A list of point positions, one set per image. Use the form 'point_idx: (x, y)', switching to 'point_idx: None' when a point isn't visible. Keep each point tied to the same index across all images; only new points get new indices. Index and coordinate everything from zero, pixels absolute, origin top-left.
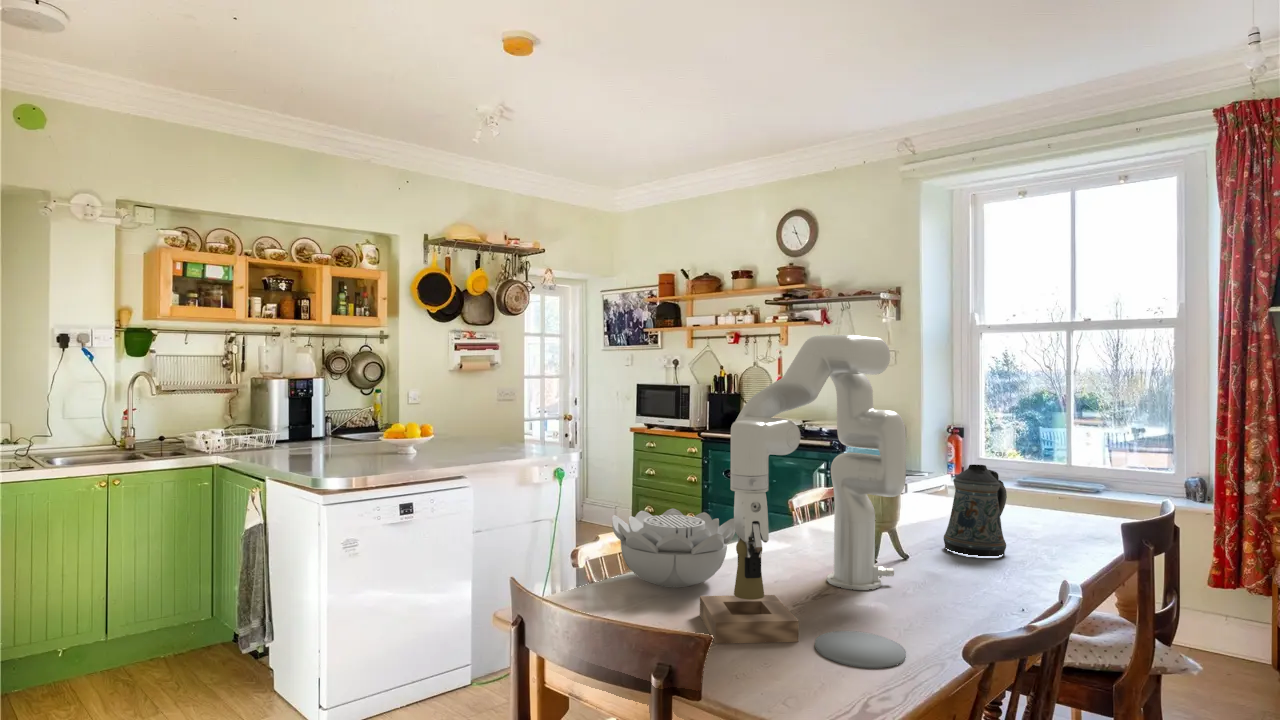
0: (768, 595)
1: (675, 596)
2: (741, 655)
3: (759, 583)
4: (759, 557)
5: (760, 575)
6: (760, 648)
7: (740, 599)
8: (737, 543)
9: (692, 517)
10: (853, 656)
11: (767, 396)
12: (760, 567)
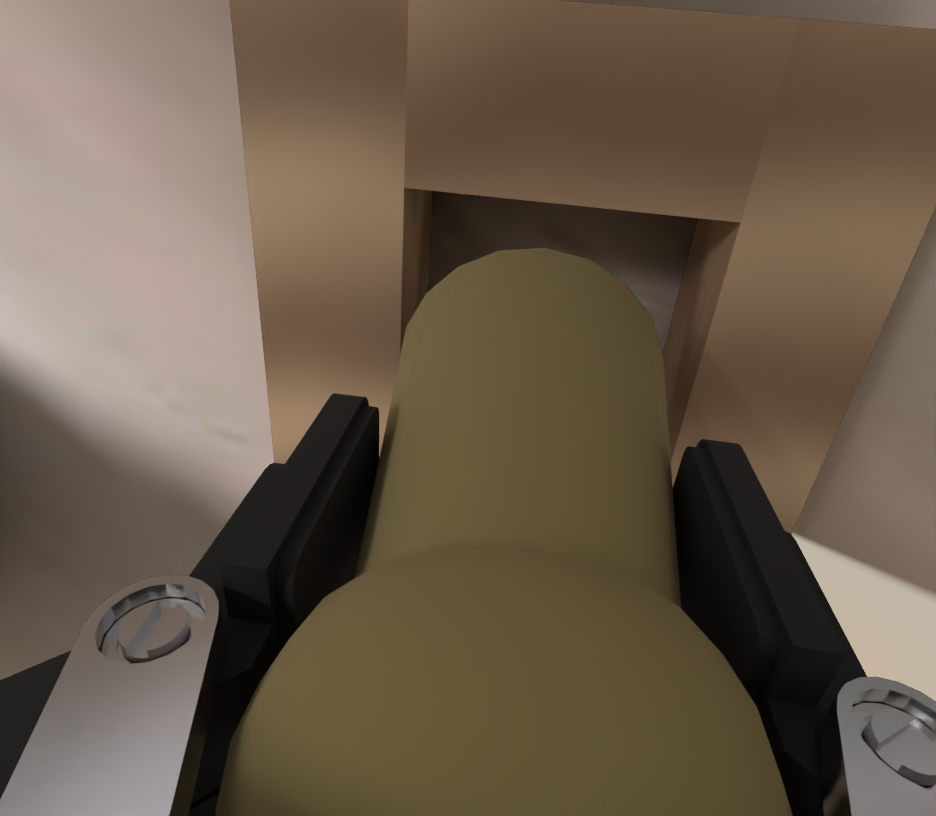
0: (248, 51)
1: (41, 489)
2: (924, 477)
3: (656, 388)
4: (930, 732)
5: (743, 459)
6: (884, 351)
7: (355, 335)
8: None
9: None
10: None
11: None
12: (778, 530)
